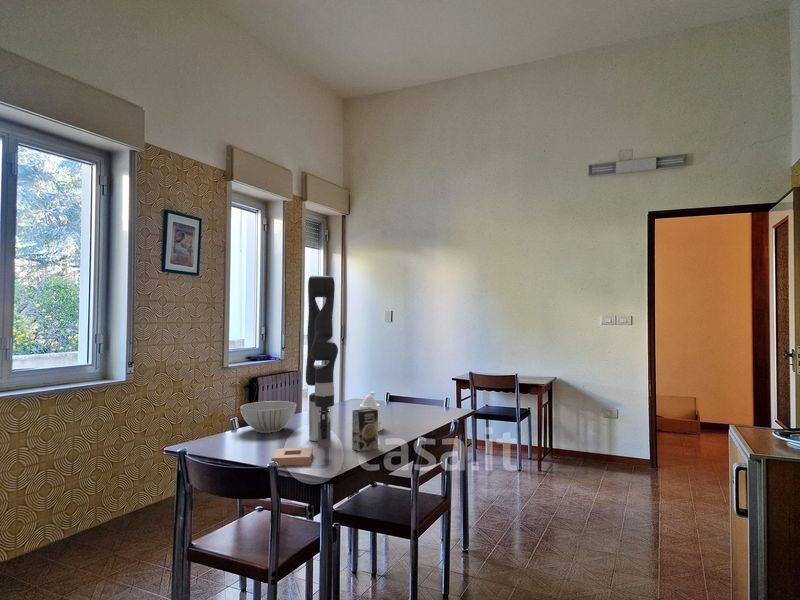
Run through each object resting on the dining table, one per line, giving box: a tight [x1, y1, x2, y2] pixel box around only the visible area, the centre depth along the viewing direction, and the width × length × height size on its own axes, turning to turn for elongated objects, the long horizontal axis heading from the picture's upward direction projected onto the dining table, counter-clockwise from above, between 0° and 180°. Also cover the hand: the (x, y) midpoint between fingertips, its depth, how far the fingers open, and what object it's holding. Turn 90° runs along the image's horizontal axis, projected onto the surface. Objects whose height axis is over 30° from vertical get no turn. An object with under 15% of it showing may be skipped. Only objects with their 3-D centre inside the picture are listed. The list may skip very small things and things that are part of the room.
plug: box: [317, 418, 332, 449], centre depth 200 cm, size 5×5×10 cm
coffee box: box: [351, 408, 379, 452], centre depth 213 cm, size 9×6×16 cm
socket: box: [270, 447, 314, 467], centre depth 197 cm, size 14×14×3 cm
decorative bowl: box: [239, 400, 297, 434], centre depth 251 cm, size 27×27×12 cm
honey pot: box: [359, 391, 383, 432], centre depth 252 cm, size 13×13×18 cm
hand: (324, 437), depth 200 cm, fingers closed on plug, 4 cm apart
